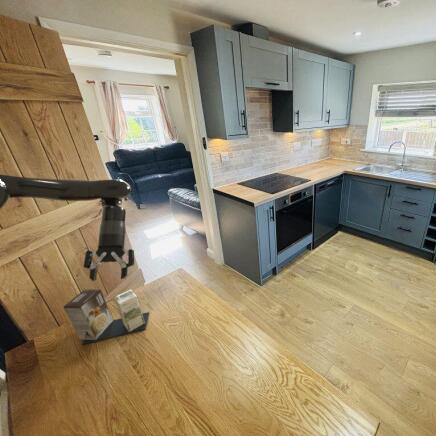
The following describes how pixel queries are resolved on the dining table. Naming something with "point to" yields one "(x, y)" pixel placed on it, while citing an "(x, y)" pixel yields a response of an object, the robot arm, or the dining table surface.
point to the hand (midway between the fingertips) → (108, 279)
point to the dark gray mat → (117, 330)
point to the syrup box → (129, 310)
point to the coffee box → (89, 314)
